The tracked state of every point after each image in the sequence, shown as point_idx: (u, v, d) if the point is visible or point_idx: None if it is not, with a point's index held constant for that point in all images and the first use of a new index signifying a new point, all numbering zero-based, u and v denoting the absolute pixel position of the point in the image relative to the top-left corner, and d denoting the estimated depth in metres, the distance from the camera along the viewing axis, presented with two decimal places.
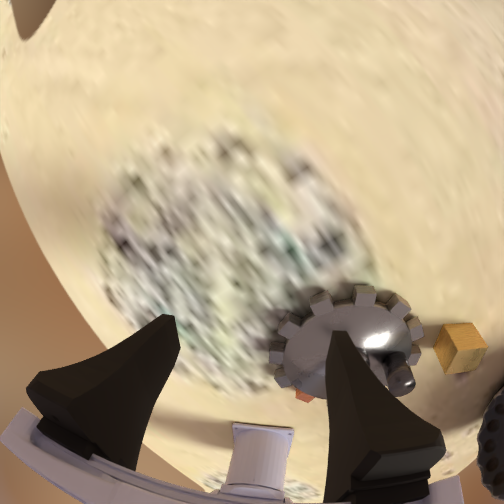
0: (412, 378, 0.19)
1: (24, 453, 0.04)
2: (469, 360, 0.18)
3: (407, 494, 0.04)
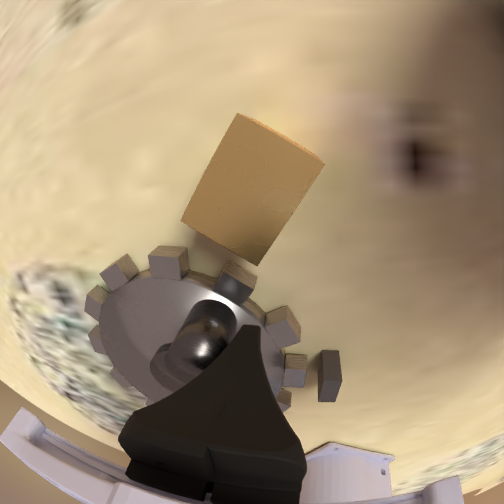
0: (176, 345, 0.10)
1: (24, 453, 0.04)
2: (250, 184, 0.08)
3: (270, 502, 0.05)
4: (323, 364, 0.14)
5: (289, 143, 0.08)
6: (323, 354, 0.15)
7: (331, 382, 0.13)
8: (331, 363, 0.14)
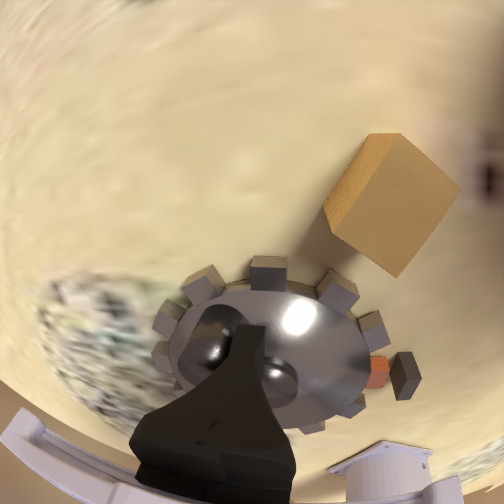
0: None
1: (24, 453, 0.04)
2: (405, 202, 0.08)
3: (260, 501, 0.05)
4: (402, 365, 0.14)
5: (437, 168, 0.07)
6: (400, 356, 0.15)
7: (412, 381, 0.13)
8: (409, 364, 0.14)
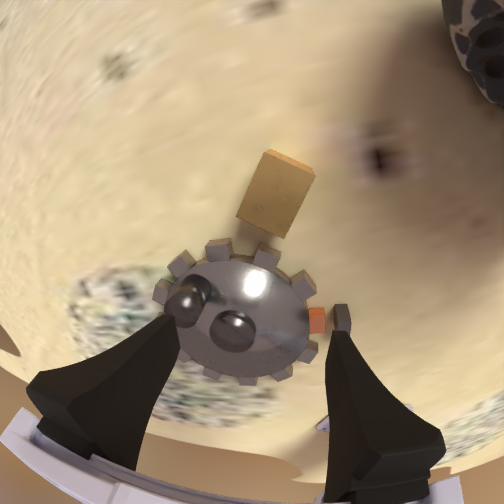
0: None
1: (24, 453, 0.04)
2: (275, 191, 0.15)
3: (407, 494, 0.04)
4: (336, 313, 0.21)
5: (294, 166, 0.14)
6: (336, 307, 0.21)
7: (343, 324, 0.19)
8: (342, 312, 0.21)
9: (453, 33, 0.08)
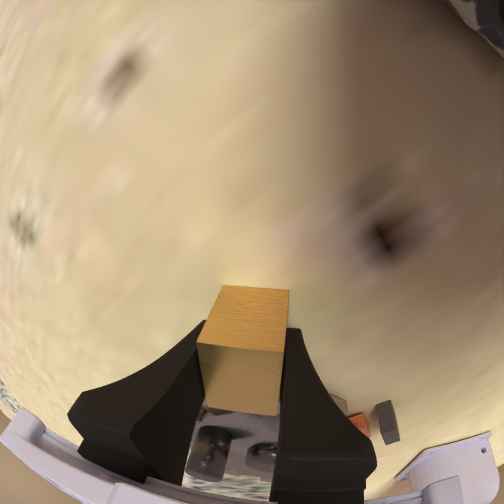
0: None
1: (24, 453, 0.04)
2: (238, 380, 0.10)
3: (337, 503, 0.05)
4: (379, 418, 0.14)
5: (247, 348, 0.09)
6: (377, 408, 0.15)
7: (388, 432, 0.13)
8: (385, 415, 0.14)
9: None
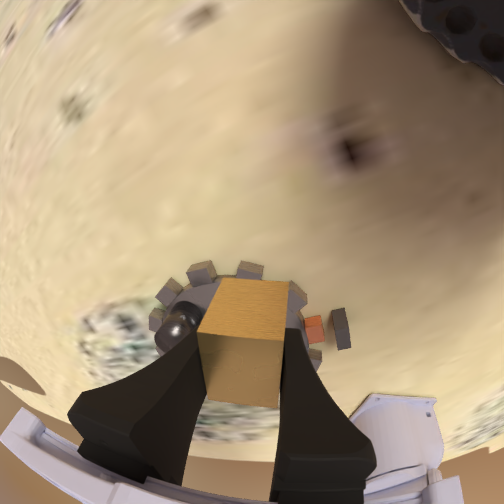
0: None
1: (24, 453, 0.04)
2: (239, 370, 0.10)
3: (337, 503, 0.05)
4: (333, 319, 0.20)
5: (247, 337, 0.09)
6: (332, 313, 0.20)
7: (341, 330, 0.18)
8: (339, 317, 0.19)
9: None
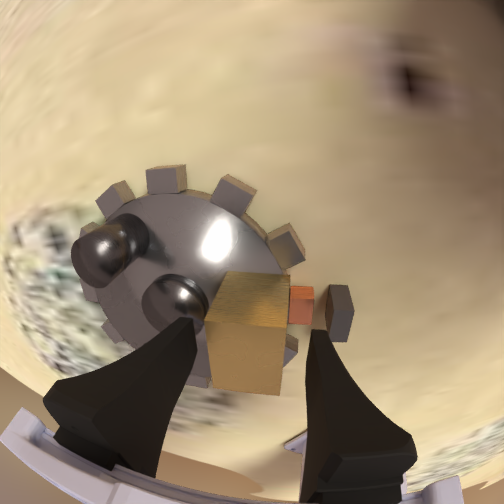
0: None
1: (24, 453, 0.04)
2: (243, 358, 0.11)
3: (377, 499, 0.04)
4: (332, 296, 0.14)
5: (252, 325, 0.10)
6: (331, 288, 0.14)
7: (342, 313, 0.13)
8: (340, 295, 0.14)
9: None
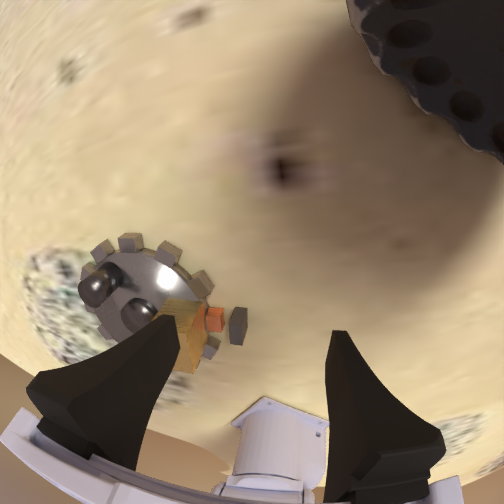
0: None
1: (24, 453, 0.04)
2: None
3: (407, 494, 0.04)
4: (232, 315, 0.22)
5: None
6: (235, 309, 0.23)
7: (234, 327, 0.21)
8: (238, 315, 0.22)
9: (360, 32, 0.09)
